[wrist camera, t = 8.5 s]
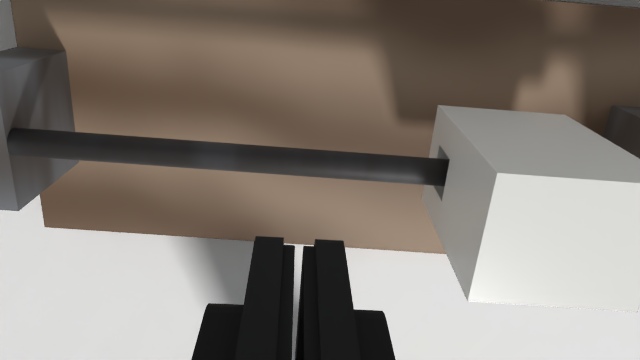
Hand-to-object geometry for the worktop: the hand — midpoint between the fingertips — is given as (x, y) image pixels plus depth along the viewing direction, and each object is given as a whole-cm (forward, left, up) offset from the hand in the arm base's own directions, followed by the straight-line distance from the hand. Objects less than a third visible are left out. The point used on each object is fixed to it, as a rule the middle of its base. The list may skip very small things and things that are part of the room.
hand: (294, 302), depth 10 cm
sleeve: (0, +7, -11) cm, 13 cm away
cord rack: (0, +3, -15) cm, 15 cm away
